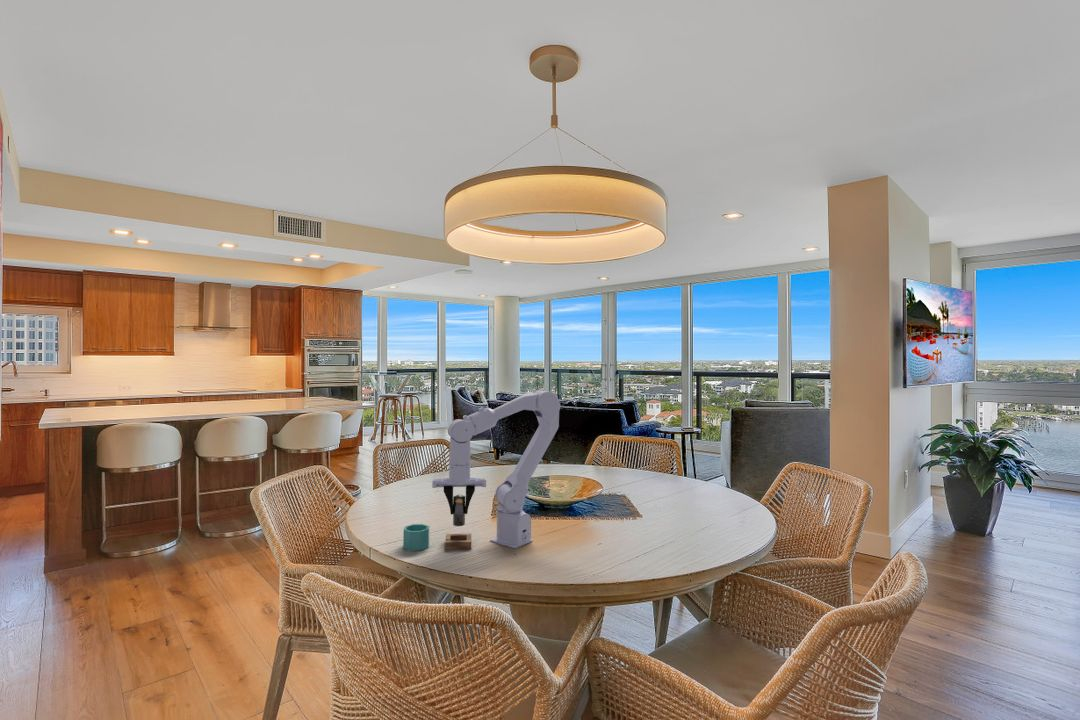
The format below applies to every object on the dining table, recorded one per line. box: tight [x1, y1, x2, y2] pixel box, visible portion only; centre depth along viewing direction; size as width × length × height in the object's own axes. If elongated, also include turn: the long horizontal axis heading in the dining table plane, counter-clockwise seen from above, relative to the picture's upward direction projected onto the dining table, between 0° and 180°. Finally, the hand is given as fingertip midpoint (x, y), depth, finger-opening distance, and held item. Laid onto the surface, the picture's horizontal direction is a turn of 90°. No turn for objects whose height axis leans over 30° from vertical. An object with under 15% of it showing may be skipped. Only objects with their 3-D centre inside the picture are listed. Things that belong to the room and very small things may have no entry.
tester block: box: [444, 533, 472, 551], centre depth 147 cm, size 7×7×2 cm
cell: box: [452, 494, 466, 527], centre depth 147 cm, size 3×3×8 cm
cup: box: [402, 523, 430, 552], centre depth 146 cm, size 7×7×5 cm
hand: (459, 513), depth 147 cm, fingers closed on cell, 3 cm apart
